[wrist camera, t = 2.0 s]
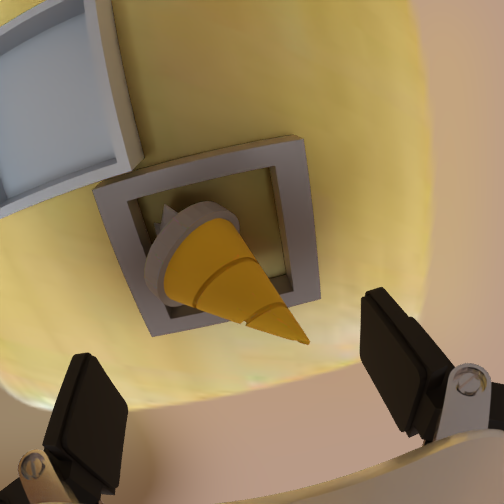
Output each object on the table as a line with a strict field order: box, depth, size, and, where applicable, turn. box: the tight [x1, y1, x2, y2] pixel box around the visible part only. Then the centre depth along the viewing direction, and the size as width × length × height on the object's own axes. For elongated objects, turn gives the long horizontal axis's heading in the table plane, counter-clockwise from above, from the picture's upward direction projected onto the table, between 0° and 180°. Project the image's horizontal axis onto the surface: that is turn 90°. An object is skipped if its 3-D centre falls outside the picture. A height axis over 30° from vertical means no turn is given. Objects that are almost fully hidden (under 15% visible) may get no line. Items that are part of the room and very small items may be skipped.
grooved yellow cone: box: [144, 201, 310, 345], centre depth 15 cm, size 5×5×10 cm
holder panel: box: [92, 135, 321, 337], centre depth 16 cm, size 9×10×2 cm
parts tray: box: [0, 0, 145, 219], centre depth 11 cm, size 9×9×3 cm
